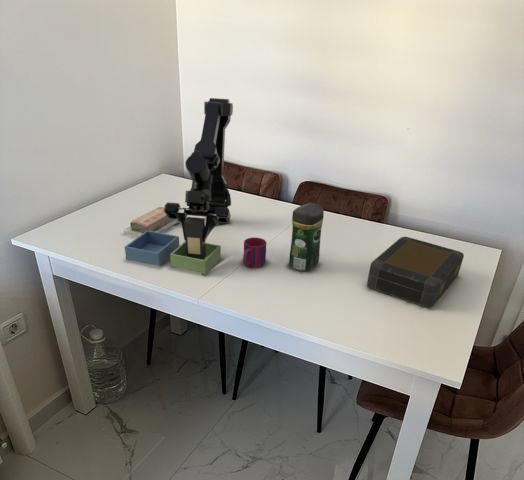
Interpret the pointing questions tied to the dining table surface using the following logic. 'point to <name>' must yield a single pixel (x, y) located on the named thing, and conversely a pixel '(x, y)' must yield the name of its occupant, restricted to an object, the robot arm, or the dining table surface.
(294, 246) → the coffee jar
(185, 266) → the green bin
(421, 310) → the dining table surface
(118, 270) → the dining table surface
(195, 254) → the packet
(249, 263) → the red cup
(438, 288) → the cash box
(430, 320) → the dining table surface
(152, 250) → the blue bin
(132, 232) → the packaged product
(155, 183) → the dining table surface
